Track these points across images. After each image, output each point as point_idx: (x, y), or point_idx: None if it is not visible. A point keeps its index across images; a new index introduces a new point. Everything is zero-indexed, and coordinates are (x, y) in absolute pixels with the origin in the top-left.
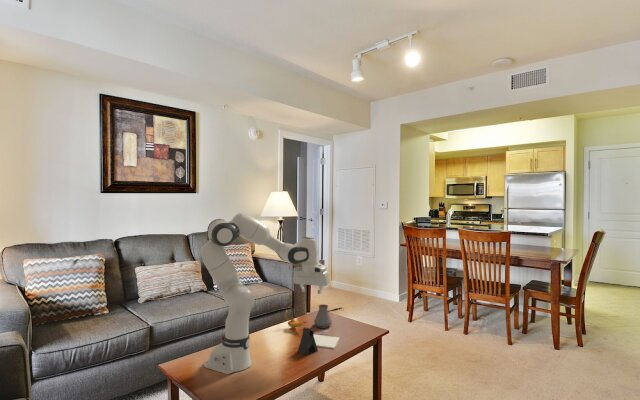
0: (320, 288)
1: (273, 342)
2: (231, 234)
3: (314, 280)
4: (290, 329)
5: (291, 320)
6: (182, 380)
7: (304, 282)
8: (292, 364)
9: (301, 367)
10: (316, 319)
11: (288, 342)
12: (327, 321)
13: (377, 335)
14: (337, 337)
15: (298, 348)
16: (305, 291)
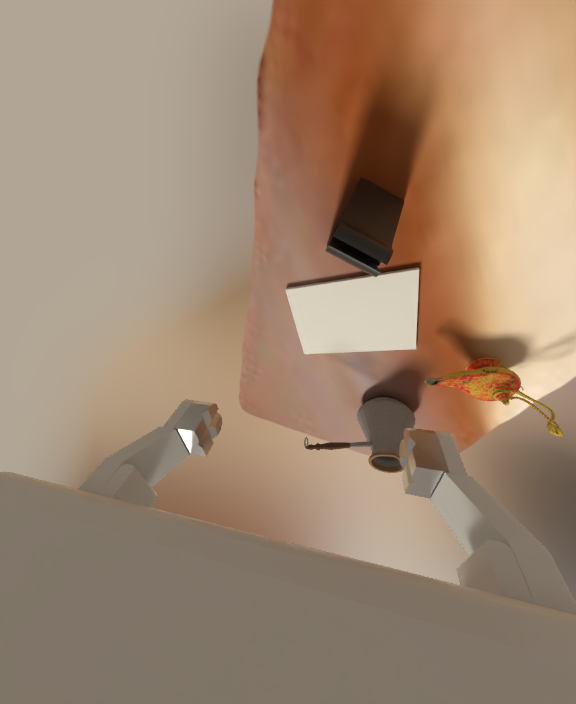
0: (126, 451)
1: (567, 227)
2: None
3: (62, 665)
4: (496, 363)
5: (506, 390)
6: None
7: (411, 653)
8: (380, 33)
9: (322, 37)
10: (403, 417)
11: (476, 262)
12: (364, 413)
13: (240, 390)
14: (309, 352)
15: (402, 205)
16: (400, 448)
